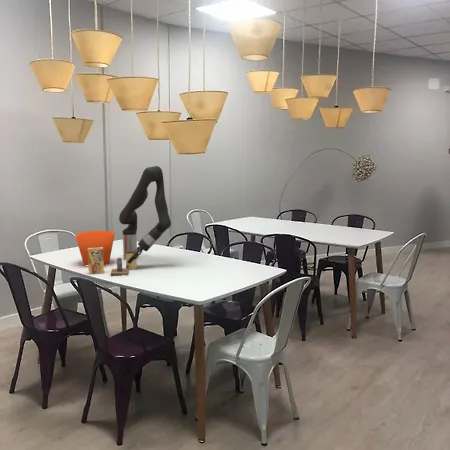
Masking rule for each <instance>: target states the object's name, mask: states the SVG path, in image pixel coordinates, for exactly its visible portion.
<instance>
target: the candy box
mask: <svg viewBox="0 0 450 450" xmlns="http://www.w3.org/2000/svg"><path fill="white" fill-rule="evenodd" d="M88 265H89V266H88V274H89V275H93V274H94V275H95V273H98V274H104V273H105V265H104V260H103V247H100V248H88Z"/></svg>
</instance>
